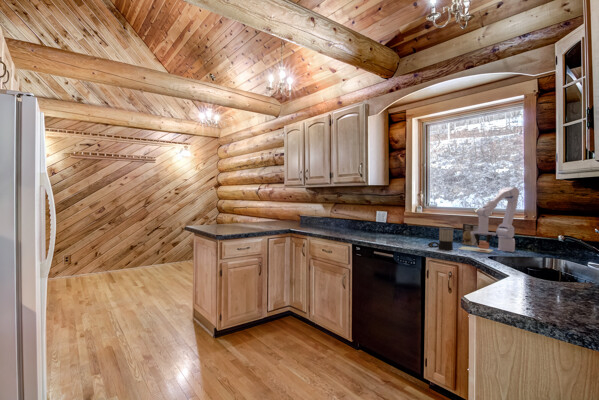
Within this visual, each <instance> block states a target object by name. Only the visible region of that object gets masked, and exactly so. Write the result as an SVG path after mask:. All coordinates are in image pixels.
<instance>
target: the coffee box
mask: <svg viewBox="0 0 599 400" xmlns="http://www.w3.org/2000/svg"><path fill="white" fill-rule="evenodd" d="M478 228H479V224H474V223H473V224H472V223H463V224H462V237H461V238H462V240H461V243H462V245H467V246H470V247H473V246H475V247H477V241H476V238H475V236H474V234H473V235H472V234H471V231H473V232H478Z"/></svg>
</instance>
